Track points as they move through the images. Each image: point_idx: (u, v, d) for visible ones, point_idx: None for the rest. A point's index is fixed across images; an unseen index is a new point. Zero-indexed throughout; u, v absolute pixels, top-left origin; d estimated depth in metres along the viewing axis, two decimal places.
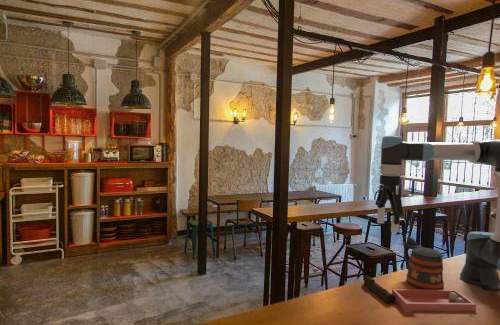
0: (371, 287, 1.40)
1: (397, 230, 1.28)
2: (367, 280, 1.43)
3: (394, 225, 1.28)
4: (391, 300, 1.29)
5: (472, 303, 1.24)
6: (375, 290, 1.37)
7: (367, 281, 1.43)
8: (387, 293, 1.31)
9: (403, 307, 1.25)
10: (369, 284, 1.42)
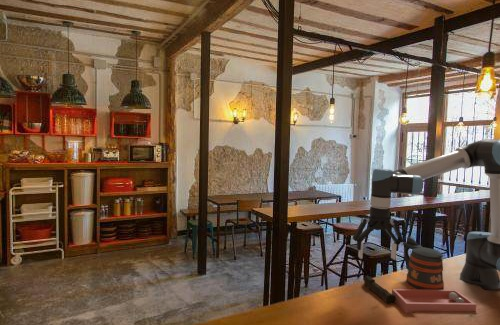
0: (371, 287, 1.40)
1: (360, 256, 1.36)
2: (367, 280, 1.43)
3: (359, 251, 1.37)
4: (391, 300, 1.29)
5: (472, 303, 1.24)
6: (375, 290, 1.37)
7: (367, 281, 1.43)
8: (387, 293, 1.31)
9: (403, 307, 1.25)
10: (369, 284, 1.42)
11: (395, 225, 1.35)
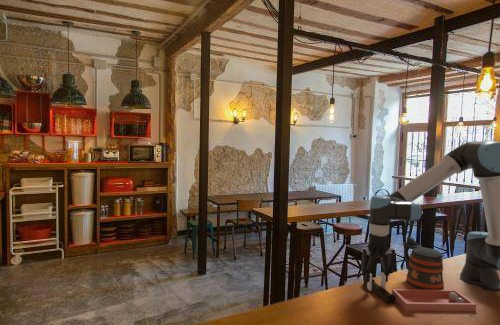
0: None
1: (369, 288, 1.37)
2: None
3: (368, 282, 1.38)
4: (391, 300, 1.29)
5: (472, 303, 1.24)
6: (375, 290, 1.37)
7: None
8: (387, 293, 1.31)
9: (403, 307, 1.25)
10: None
11: (392, 255, 1.36)
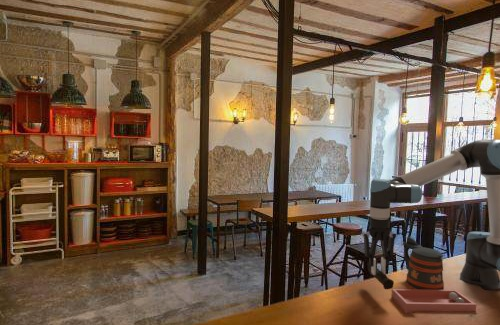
0: None
1: (373, 273, 1.37)
2: (369, 266, 1.43)
3: (372, 267, 1.38)
4: (389, 284, 1.28)
5: (472, 303, 1.24)
6: (375, 275, 1.37)
7: (369, 267, 1.43)
8: (385, 278, 1.30)
9: (403, 307, 1.25)
10: None
11: (392, 238, 1.36)
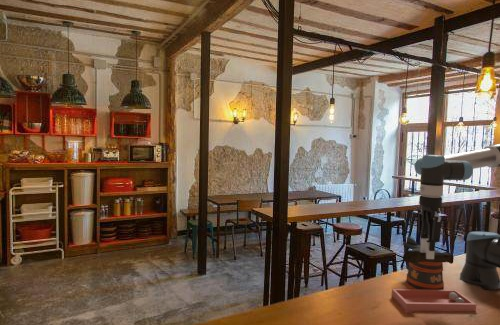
0: (424, 258, 1.26)
1: (432, 257, 1.25)
2: (415, 254, 1.26)
3: (429, 252, 1.25)
4: None
5: (472, 303, 1.24)
6: None
7: (416, 255, 1.26)
8: (446, 254, 1.28)
9: (403, 307, 1.25)
10: (420, 257, 1.26)
11: None
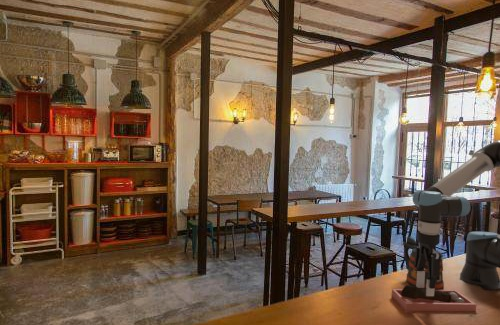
0: (422, 295, 1.27)
1: (432, 294, 1.25)
2: (414, 290, 1.27)
3: (429, 289, 1.25)
4: None
5: (472, 303, 1.24)
6: (430, 296, 1.27)
7: (414, 291, 1.27)
8: (444, 293, 1.29)
9: (403, 307, 1.25)
10: (418, 293, 1.27)
11: None
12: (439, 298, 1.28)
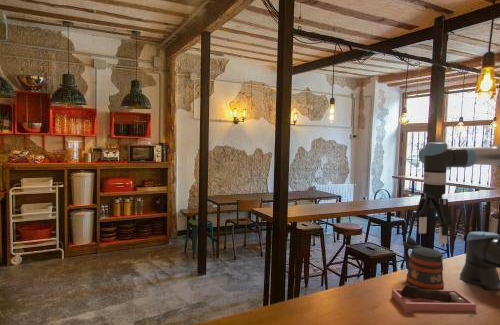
0: (422, 295, 1.27)
1: (445, 242, 1.22)
2: (414, 290, 1.27)
3: (442, 236, 1.22)
4: None
5: (472, 303, 1.24)
6: (430, 296, 1.27)
7: (414, 291, 1.27)
8: (444, 293, 1.29)
9: (403, 307, 1.25)
10: (418, 293, 1.27)
11: None
12: (439, 298, 1.28)
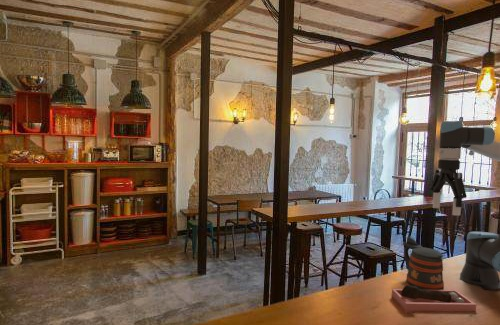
0: (422, 295, 1.27)
1: (459, 213, 1.29)
2: (414, 290, 1.27)
3: (456, 208, 1.29)
4: None
5: (472, 303, 1.24)
6: (430, 296, 1.27)
7: (414, 291, 1.27)
8: (444, 293, 1.29)
9: (403, 307, 1.25)
10: (418, 293, 1.27)
11: None
12: (439, 298, 1.28)
